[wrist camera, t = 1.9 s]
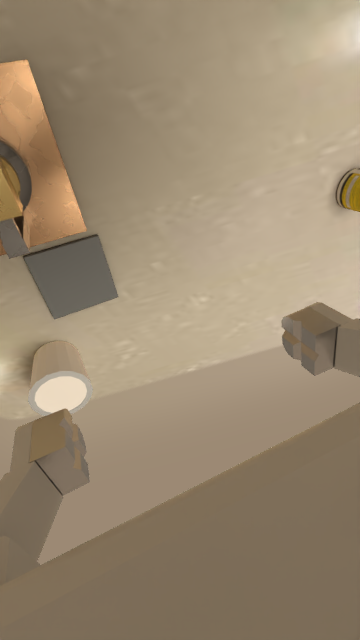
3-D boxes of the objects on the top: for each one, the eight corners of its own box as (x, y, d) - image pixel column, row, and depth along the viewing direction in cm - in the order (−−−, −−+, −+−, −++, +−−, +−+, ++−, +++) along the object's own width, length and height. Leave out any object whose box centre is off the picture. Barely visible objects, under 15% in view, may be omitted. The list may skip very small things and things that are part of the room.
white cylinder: (53, 327, 37) (58, 361, 32) (95, 353, 42) (105, 387, 36) (15, 364, 38) (13, 404, 32) (60, 386, 42) (64, 425, 37)
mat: (23, 256, 32) (23, 258, 32) (97, 234, 34) (98, 235, 33) (54, 316, 37) (54, 319, 36) (117, 294, 39) (118, 296, 38)
